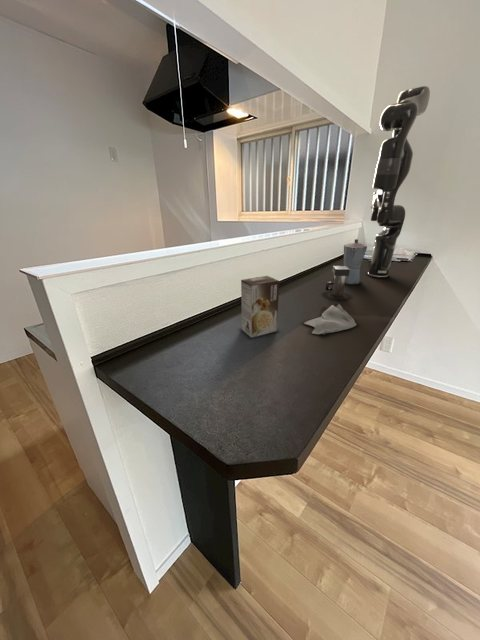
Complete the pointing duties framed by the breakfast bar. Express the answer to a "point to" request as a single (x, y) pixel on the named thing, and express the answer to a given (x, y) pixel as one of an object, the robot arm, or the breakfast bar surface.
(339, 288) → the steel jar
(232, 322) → the breakfast bar surface
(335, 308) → the cloth
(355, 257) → the moka pot
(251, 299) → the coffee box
